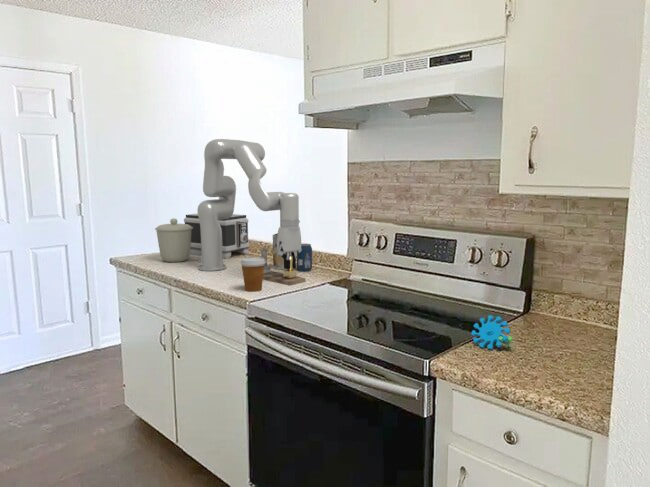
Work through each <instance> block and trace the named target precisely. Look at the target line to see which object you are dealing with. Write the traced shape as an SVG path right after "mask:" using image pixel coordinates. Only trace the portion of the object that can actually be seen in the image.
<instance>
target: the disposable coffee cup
mask: <svg viewBox="0 0 650 487" xmlns="http://www.w3.org/2000/svg"><path fill="white" fill-rule="evenodd" d="M239 264H240V265H241V268H242V277H243V283H244V284H243V285H244V289H245V291H246V292H252V293H253V292H260V291H262V290H263V281H264V279H263V272H264V265H265V260H264V258H261V256H260V257H259V256H248V257H243V258H241V260H240V262H239Z"/></svg>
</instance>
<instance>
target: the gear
mask: <svg viewBox="0 0 650 487" xmlns="http://www.w3.org/2000/svg"><path fill="white" fill-rule="evenodd" d="M487 318H488V319H487V321H486V318H485V317H481V318H479V321H480V323H481V326H480V325H479V323H478V322H476V323H474V324H473V327H474V330H472V331H471V336H473V342H474V344H478V346H479V347H480V348H481V349H484V348H485V346H487V349H488V350H494V343H495V346H496V347H497V348H501V347H503V344H504V345H506V346H507V348H509V349H510V348H511V347H512V345H511V343H513V342H514V339H513V336H511V335H509V334H510V333H511V329H510V328H509V327H508V326H509V325H508V322H507V320H504V321H503V320H502V317H501V316H499V315H497V316H496V317H495V318H496V319H494V316H493V315H490V314H489V315H488V316H487ZM499 322H500V323H499ZM503 327H504V328H503ZM475 329H476V330H478V331H479V332H476V330H475ZM503 332H505V334H507V335H505V334H503ZM478 337H479V338H478ZM482 341H483V342H482Z"/></svg>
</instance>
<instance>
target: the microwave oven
mask: <svg viewBox="0 0 650 487" xmlns="http://www.w3.org/2000/svg"><path fill="white" fill-rule="evenodd" d="M183 222H184V224H188V225H190V226H191V227H193V229H192V232H191V246H190V255H193V256H200V257H202V256H201V231H200V221H199V217H198V213H190V214H185V217H184V218H183ZM218 222H219V224H220V226H221V229H222V252H223V259H224V260H227V259H230V258H231V256H232V254H239V255H248V254H249V248H250V243H249V228H248V227H249V226H248V225H249V224H248V223H249V218H248V217H247V215H246V214H237V213H236V214H234V213H233V215H232V216H231V217H230V218H228V219H223V220H218Z"/></svg>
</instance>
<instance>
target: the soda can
mask: <svg viewBox="0 0 650 487" xmlns="http://www.w3.org/2000/svg"><path fill="white" fill-rule="evenodd" d="M301 249H302V251H301V252H300V253H299V254H298V255H297V258H296V270H297V272H300V273H301V272H303V273H307V272H310V271H312V269H313V247H312V245H311V243H301Z"/></svg>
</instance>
